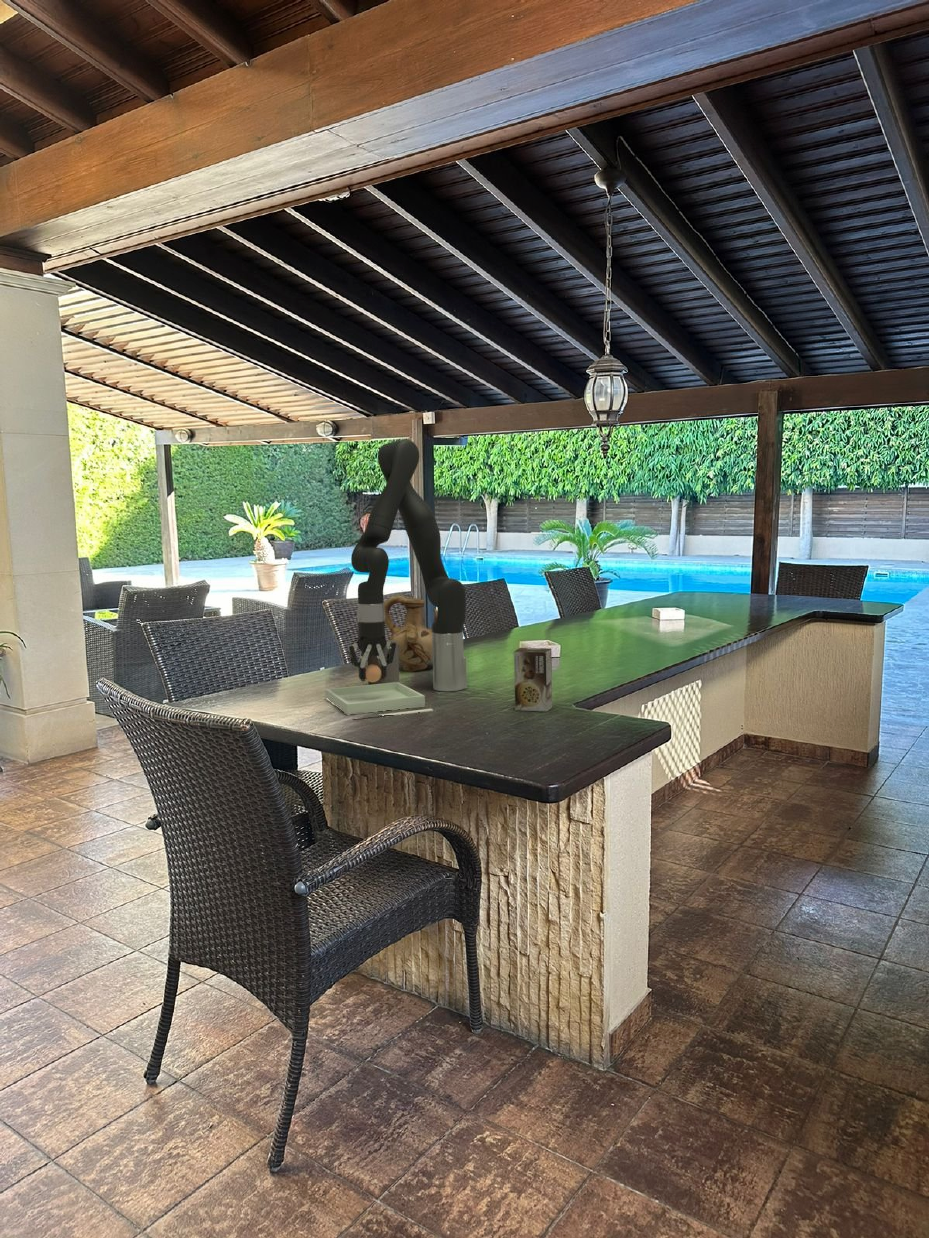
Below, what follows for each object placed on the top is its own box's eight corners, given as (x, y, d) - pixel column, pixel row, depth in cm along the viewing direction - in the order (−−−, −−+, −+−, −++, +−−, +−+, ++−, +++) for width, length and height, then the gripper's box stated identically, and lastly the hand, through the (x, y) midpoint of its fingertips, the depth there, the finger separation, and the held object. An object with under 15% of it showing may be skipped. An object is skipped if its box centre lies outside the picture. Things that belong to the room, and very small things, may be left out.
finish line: (430, 709, 237) (430, 708, 237) (433, 710, 235) (433, 709, 235) (352, 718, 228) (352, 717, 228) (353, 720, 227) (353, 719, 227)
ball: (378, 679, 249) (378, 662, 248) (383, 682, 244) (383, 665, 244) (361, 681, 247) (361, 663, 246) (366, 684, 242) (366, 666, 242)
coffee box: (553, 706, 238) (552, 648, 236) (547, 712, 232) (546, 651, 230) (520, 705, 241) (519, 646, 239) (513, 710, 235) (513, 650, 233)
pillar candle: (362, 688, 267) (361, 639, 265) (377, 682, 276) (376, 634, 274) (390, 690, 263) (390, 641, 261) (405, 684, 272) (404, 636, 270)
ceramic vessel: (412, 676, 285) (410, 599, 282) (373, 669, 298) (371, 595, 295) (451, 668, 298) (450, 594, 295) (412, 662, 311) (411, 591, 308)
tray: (398, 691, 261) (397, 681, 260) (425, 706, 241) (424, 695, 240) (325, 699, 252) (325, 689, 252) (347, 715, 232) (347, 704, 232)
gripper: (391, 616, 250) (392, 675, 252) (342, 619, 244) (344, 679, 246) (400, 619, 243) (401, 680, 245) (349, 622, 237) (351, 684, 239)
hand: (372, 679), depth 246 cm, fingers closed on ball, 5 cm apart
